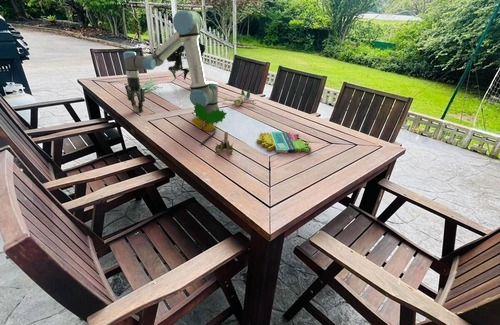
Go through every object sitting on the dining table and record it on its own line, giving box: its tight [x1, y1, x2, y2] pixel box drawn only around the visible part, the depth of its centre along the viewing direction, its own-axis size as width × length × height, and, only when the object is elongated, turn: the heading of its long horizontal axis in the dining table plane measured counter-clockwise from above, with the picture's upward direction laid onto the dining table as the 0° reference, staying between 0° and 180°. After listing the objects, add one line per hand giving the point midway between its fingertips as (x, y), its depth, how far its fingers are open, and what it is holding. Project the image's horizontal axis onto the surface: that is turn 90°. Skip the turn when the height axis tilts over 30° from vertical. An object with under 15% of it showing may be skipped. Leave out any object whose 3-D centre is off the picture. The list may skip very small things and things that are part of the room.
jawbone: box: [214, 131, 234, 156], centre depth 136 cm, size 9×15×10 cm
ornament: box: [191, 102, 228, 132], centre depth 162 cm, size 21×8×15 cm, turn 105°
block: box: [132, 103, 141, 114], centre depth 183 cm, size 5×4×5 cm
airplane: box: [134, 74, 164, 97], centre depth 226 cm, size 38×31×10 cm
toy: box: [223, 89, 257, 106], centre depth 219 cm, size 28×7×30 cm
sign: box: [256, 131, 312, 154], centre depth 152 cm, size 26×2×30 cm
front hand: (138, 111), depth 184 cm, fingers closed on block, 4 cm apart
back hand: (179, 79), depth 238 cm, fingers open, 9 cm apart
